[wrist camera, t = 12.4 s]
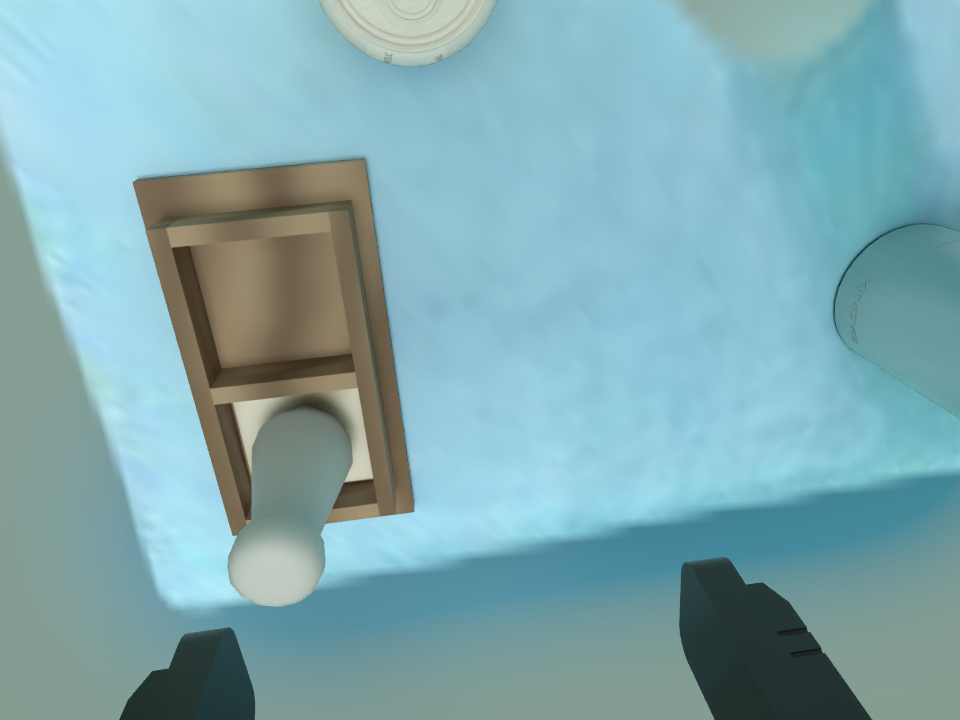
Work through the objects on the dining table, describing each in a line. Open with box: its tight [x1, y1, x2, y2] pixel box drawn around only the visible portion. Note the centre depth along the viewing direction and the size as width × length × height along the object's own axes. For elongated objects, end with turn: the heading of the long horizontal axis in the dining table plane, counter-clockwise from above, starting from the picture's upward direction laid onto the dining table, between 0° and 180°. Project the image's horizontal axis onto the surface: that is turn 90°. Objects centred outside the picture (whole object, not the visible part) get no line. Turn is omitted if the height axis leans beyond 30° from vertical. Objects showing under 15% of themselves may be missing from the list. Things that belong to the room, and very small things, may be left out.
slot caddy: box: [133, 158, 414, 536], centre depth 39 cm, size 12×23×4 cm, turn 4°
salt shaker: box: [228, 404, 353, 607], centre depth 36 cm, size 6×6×13 cm
